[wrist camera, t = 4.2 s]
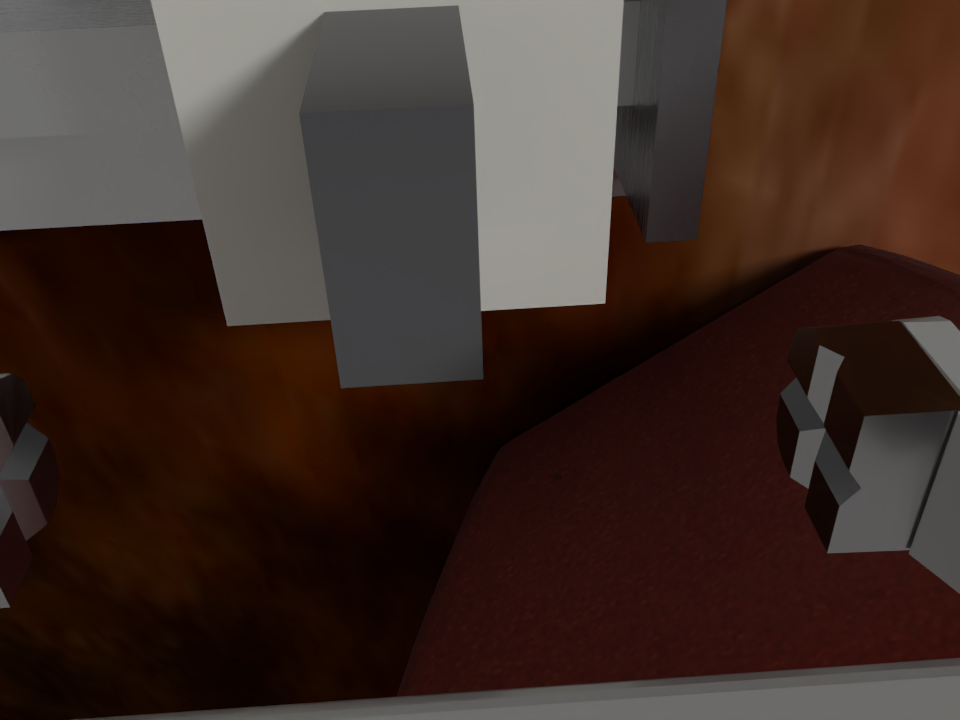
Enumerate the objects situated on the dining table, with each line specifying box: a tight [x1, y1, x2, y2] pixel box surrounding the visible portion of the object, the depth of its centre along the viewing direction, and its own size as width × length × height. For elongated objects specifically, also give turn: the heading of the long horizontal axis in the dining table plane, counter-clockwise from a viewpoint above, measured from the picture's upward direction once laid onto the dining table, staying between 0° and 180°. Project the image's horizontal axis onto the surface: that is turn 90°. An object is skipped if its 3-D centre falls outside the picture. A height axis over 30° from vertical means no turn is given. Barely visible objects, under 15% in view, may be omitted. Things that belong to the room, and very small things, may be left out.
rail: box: [0, 0, 727, 243], centre depth 18 cm, size 8×25×6 cm, turn 92°
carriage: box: [151, 0, 624, 388], centre depth 15 cm, size 7×7×9 cm
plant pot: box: [397, 245, 960, 697], centre depth 23 cm, size 19×19×17 cm
